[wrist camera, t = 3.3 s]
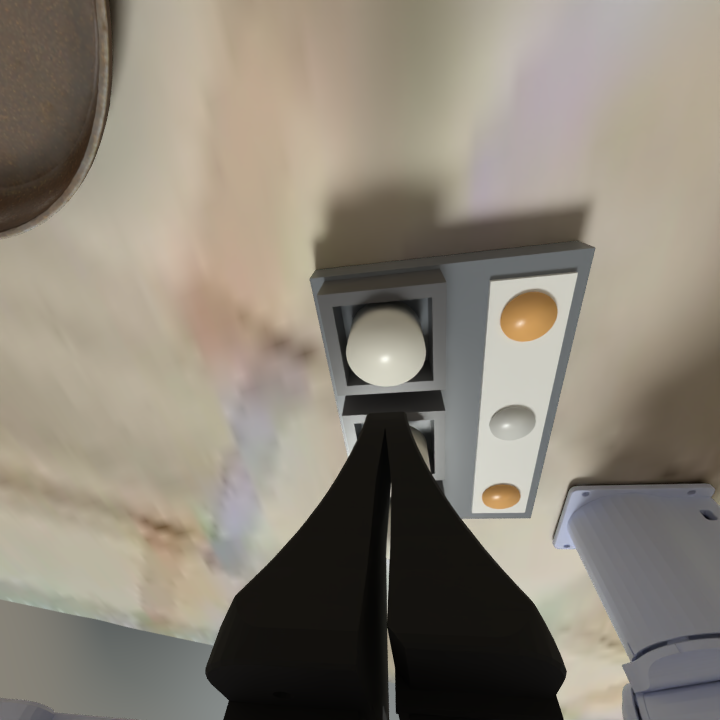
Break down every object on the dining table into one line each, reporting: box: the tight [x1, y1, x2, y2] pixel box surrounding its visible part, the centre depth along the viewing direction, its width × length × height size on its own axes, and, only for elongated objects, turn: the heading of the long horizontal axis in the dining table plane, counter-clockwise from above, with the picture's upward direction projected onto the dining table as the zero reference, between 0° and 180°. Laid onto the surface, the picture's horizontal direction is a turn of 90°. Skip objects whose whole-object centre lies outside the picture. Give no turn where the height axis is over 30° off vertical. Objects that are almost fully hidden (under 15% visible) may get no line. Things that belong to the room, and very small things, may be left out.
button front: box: [346, 301, 426, 387], centre depth 16 cm, size 4×4×2 cm
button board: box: [310, 241, 595, 519], centre depth 20 cm, size 13×20×4 cm, turn 8°
